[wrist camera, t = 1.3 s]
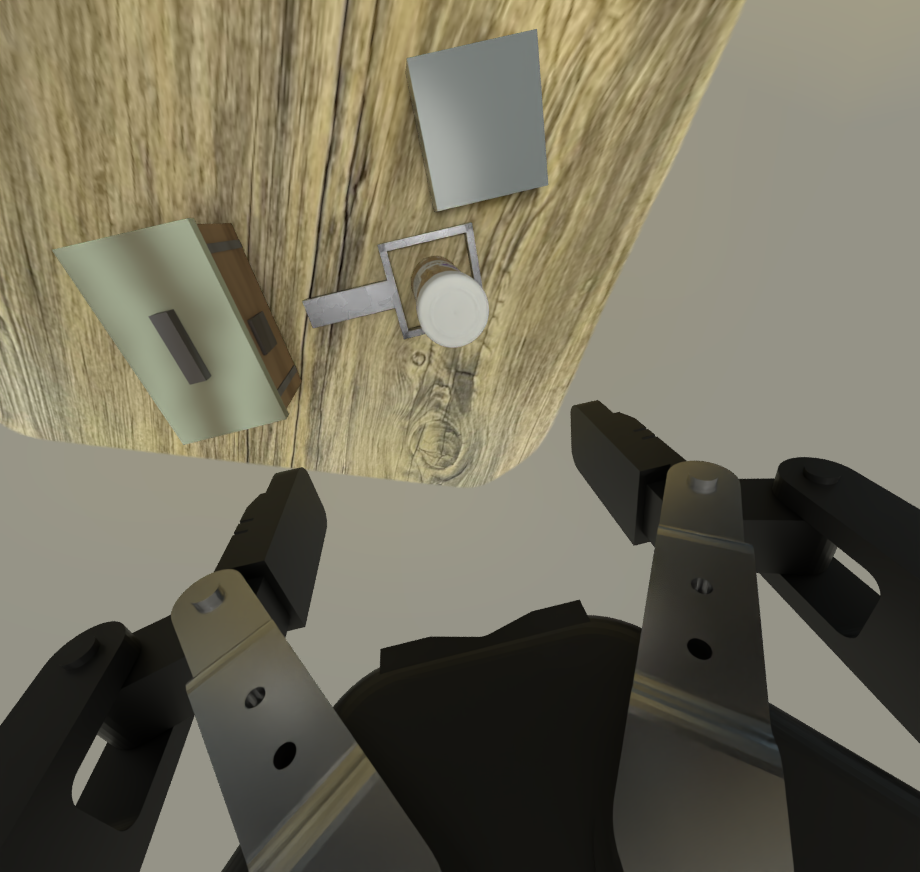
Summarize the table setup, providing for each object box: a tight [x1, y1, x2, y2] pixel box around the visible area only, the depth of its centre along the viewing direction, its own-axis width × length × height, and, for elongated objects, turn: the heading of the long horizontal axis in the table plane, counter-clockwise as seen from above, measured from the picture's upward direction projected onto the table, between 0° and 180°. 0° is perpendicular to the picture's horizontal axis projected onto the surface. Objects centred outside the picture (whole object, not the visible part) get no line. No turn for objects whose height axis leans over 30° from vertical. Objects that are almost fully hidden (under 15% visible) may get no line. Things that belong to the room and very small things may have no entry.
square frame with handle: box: [302, 223, 483, 339], centre depth 35 cm, size 16×8×1 cm, turn 101°
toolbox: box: [52, 218, 302, 445], centre depth 31 cm, size 8×15×9 cm, turn 11°
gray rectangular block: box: [406, 29, 548, 212], centre depth 30 cm, size 9×9×3 cm
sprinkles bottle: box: [411, 256, 489, 347], centre depth 30 cm, size 5×5×13 cm
